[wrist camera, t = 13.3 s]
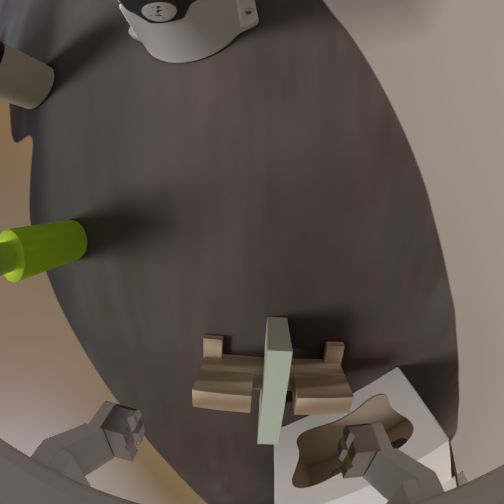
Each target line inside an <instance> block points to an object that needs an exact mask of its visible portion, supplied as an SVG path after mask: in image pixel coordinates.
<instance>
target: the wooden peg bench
mask: <svg viewBox="0 0 504 504" xmlns="http://www.w3.org/2000/svg"><path fill="white" fill-rule="evenodd" d="M203 341H204V361H203V363H202V366H201V368H200V371H199V373H198V376H197V378H196V381H195V384H194V386H193V389H192V398H193V406H194V407H201V408H208V409H217V410H226V411H236V412H248V413H250V407H251V396H252V389H261V390H262V383H263V373H264V357H254V356H241V355H229V354H223V336H217V335H207V334H205V336H204V338H203ZM344 347H345V345H344V343H343V342H326V343H325V349H324V354H323V359H292V360H291V367H290V374H289V380H288V387H287V391H292V398H293V407H294V415H314V414H343V413H349V412H350V408H351V405H352V402H353V398H354V396H353V394H352V391H351V389H350V387H349V384H348V382H347V379H346V377H345V375H344V372H343V370H342V368H341V362H342V357H343V352H344Z"/></svg>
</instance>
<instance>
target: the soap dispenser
mask: <svg viewBox="0 0 504 504" xmlns="http://www.w3.org/2000/svg"><path fill="white" fill-rule="evenodd" d="M86 248H87V236H86V232H85V230H84V228H83V227H82V225H81V224H80V223H78V222H77V221H74V220H68V221H60V222H53V223H46V224H39V225H33V226H26V227H20V228H14V229H8V230H5V231H3V232H2V233H1V234H0V275H4V277H5V278H6V279H7V280H9V281H11V282H17V281H20V280H23V279H26V278H28V277H31V276H33V275H36V274H39V273H42V272H44V271H47V270H50V269H53V268H56V267H58V266H61V265H64V264H67V263H70V262H73V261H76V260H78V259H80V258H81V257H82V256H83V255H84V253H85V251H86Z"/></svg>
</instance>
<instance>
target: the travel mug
mask: <svg viewBox="0 0 504 504" xmlns="http://www.w3.org/2000/svg"><path fill="white" fill-rule="evenodd" d="M53 82H54V71H53V69H52V68H51V67H49V66H48V65H46V64H44V63H42V62H40V61H38V60H36V59H34V58H32V57H30V56H28V55H26V54H24V53H22V52H20V51H19V50H16V49H14V48H12V47H10V46H8V45H6V44H4V43H2V42H0V100H1V101H5V102H8V103H11V104H15V105H18V106H21V107H24V108H28V109H33V108H35V107H37V106H39V105H40V104H41V103H42V102H43V101H44V100H45V98H46V97H47V95H48V94H49V92H50V90H51V88H52V85H53Z"/></svg>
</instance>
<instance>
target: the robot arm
mask: <svg viewBox="0 0 504 504" xmlns="http://www.w3.org/2000/svg"><path fill="white" fill-rule="evenodd" d="M118 2H119V3H121V4H120V10H121V11H122V13H123V15H124V16H125V18H126V20H127V21H128V23H129V24H130V28H129V30H128V32H129V34H130V36H131V37H132V38H134V39H136V40H138V41H141V42H142V43H143V45H144V46H145V48H146V50H147V51H148V52H149V53H150V54H151V55H152V56H154V57H155V58H157V59H160V60H162V61H166V62H173V63H183V62H191V61H195V60H199V59H202V58H205V57H208V56H210V55H212V54H214V53H216V52H218V51H219V50H221V49H222V48H224V47H225V46H226V45H228V44H229V43H230V42H231V41H232V40H233V39H234V38H235V37H236V36H237V35H238V34H240V33H241V32H243V31H246V30H248V29H250V28H252V27H254V26H256V25H257V24H258V22H259V18H258V13H257V9H256V4H255V0H118ZM247 13H251V14H247ZM140 418H141V413H140V411H139V410H137V409H133V408H130V407H126V406H122V405H119V404H115V403H112V402H108V401H105V402H104V403H103V404H102V405H101V407H100V408H99V410H98V411H97V413H96V414H95V415H94V417H93V418H92V420H91V421H90V423H89V424H86V423H85V424H83V425H81V426H78V427H76V428H73V429H71V430H68V431H66V432H63V433H60V434H58V435H55V436H53V437H50V438H47V439H45V440H43V442H42V443H41V444H40V445H39V447H38V448H37V449H36V451H35V452H34V454H33V455H32V456H31V457H29V456H27V455H25V454H24V453H22V452H21V451H19V450H17V449H16V448H14V447H13V446H11V445H10V444H8V443H6V442H5V441H4V440H2V439H1V438H0V504H139V503H135V502H132V501H129V500H125V499H122V498H119V497H116V496H113V495H110V494H108V493H105V492H102V491H100V490H97V489H95V488H92V487H91V486H90V484H89V482H88V481H87V479H86V478H85V476H86V475H87V474H89V473H90V472H92V471H94V470H95V469H97V468H99V467H100V466H102V465H103V464H105V463H106V462H108V461H110V460H111V459H113V458H114V457H118V458H121V459H125V460H129V461H133V460H134V458H135V455H136V453H137V451H138V450H137V447H136V446H137V445H139V444H140V443H141V442H142V440H143V436H144V425H143V423H142V422H141V421H140ZM337 452H338V458H339V460H341V461H342V465H341V471H342V475H343V479H345V478H355V477H363V478H364V479H365V480H366V481H367V482H368V483H369V484H370V485H371V486H372V487H373V488H375V489H376V490H377V491H378V492H379V493H380V494H381V495H382V496H383V497H384V498H386V499H387V500H388V502H387V503H386V504H504V465H502V466H500V467H498V468H496V469H494V470H492V471H490V472H489V473H487V474H485V475H482V476H480V477H478V478H476V479H474V480H472V481H470V482H468V483H465V484H463V485H461V486H458V487H456V488H453V489H451V490H448V491H446V492H445V491H444V489H443V487H442V485H441V483H440V481H439V479H438V477H437V474H436V472H435V471H433V470H431V469H430V468H428V467H426V466H425V465H423V464H421V463H420V462H418V461H416V460H415V459H413V458H411V457H410V456H408V455H407V454H405V453H403V452H402V451H400V450H399V449H397V448H393V447H392V445H391V442H390V440H389V438H388V436H387V433H386V431H385V429H384V427H383V424H382V423H381V422H376V423H369V424H368V423H367V424H358V425H347V426H345V427H344V429H343V437H341V438H340V440H339V442H338V448H337Z"/></svg>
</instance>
